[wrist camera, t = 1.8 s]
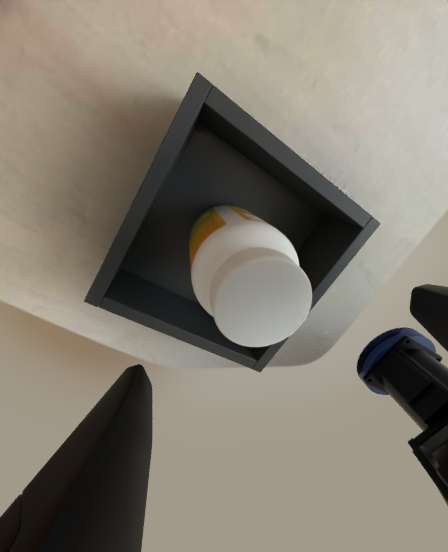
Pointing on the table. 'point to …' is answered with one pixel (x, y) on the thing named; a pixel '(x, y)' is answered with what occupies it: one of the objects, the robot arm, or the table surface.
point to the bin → (214, 192)
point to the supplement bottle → (247, 277)
